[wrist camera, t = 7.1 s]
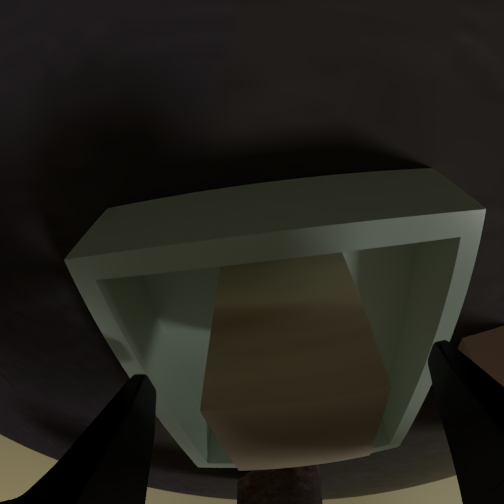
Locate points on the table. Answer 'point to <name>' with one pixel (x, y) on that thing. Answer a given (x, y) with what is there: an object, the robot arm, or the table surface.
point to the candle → (281, 486)
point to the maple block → (292, 365)
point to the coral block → (486, 351)
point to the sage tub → (276, 248)
